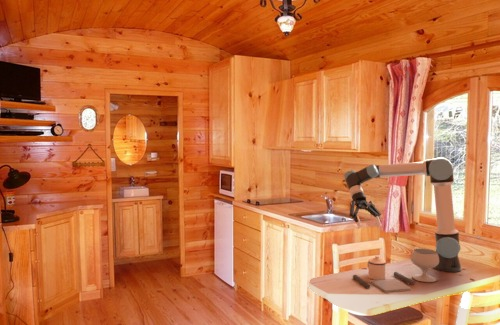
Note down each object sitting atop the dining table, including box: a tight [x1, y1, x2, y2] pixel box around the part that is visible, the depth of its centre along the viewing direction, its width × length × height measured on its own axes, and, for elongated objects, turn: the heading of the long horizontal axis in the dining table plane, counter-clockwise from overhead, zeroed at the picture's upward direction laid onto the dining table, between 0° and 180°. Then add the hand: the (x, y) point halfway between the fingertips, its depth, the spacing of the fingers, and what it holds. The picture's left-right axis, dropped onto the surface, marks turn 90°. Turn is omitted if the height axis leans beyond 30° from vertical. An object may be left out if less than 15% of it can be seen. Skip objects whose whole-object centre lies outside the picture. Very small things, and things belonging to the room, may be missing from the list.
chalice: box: [410, 248, 439, 283], centre depth 220 cm, size 14×14×15 cm
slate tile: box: [370, 278, 412, 293], centre depth 209 cm, size 14×14×1 cm
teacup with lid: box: [367, 255, 387, 281], centre depth 223 cm, size 12×9×12 cm
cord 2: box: [393, 271, 414, 286], centre depth 218 cm, size 15×2×2 cm, turn 13°
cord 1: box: [352, 274, 371, 289], centre depth 213 cm, size 15×2×2 cm, turn 13°
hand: (370, 227), depth 229 cm, fingers open, 13 cm apart
